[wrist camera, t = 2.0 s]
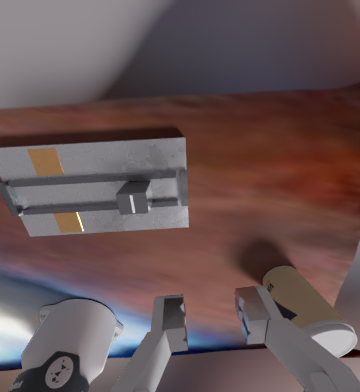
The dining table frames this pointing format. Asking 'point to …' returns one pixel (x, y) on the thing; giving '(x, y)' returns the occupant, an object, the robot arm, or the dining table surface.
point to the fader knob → (135, 198)
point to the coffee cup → (309, 310)
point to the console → (94, 184)
